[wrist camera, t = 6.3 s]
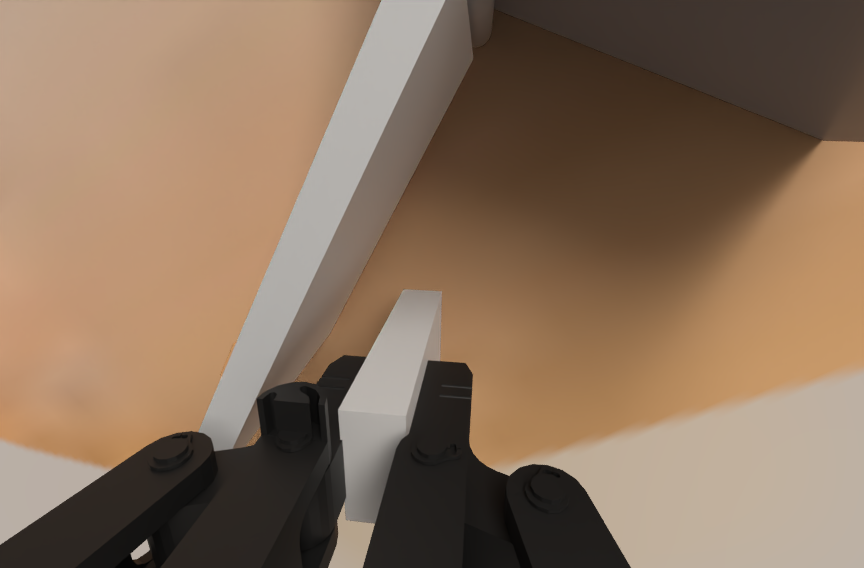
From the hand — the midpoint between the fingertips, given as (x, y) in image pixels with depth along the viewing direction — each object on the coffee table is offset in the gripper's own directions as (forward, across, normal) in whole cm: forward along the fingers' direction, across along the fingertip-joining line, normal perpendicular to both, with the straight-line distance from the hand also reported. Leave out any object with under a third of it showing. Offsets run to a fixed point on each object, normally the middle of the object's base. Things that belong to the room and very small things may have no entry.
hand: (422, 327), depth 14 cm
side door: (+2, -2, +4) cm, 5 cm away
